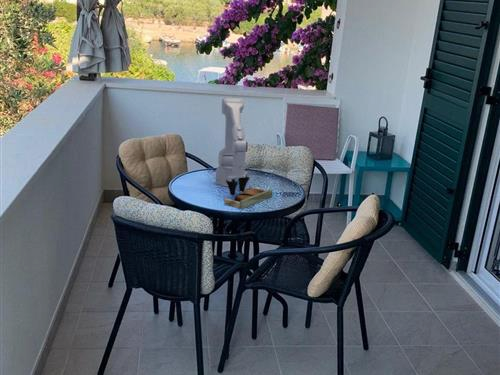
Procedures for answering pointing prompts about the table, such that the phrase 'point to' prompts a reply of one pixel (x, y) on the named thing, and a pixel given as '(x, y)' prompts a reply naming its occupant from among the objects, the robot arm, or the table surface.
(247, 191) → the sunglasses case
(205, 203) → the table surface
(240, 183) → the robot arm
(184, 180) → the table surface
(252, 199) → the dock
